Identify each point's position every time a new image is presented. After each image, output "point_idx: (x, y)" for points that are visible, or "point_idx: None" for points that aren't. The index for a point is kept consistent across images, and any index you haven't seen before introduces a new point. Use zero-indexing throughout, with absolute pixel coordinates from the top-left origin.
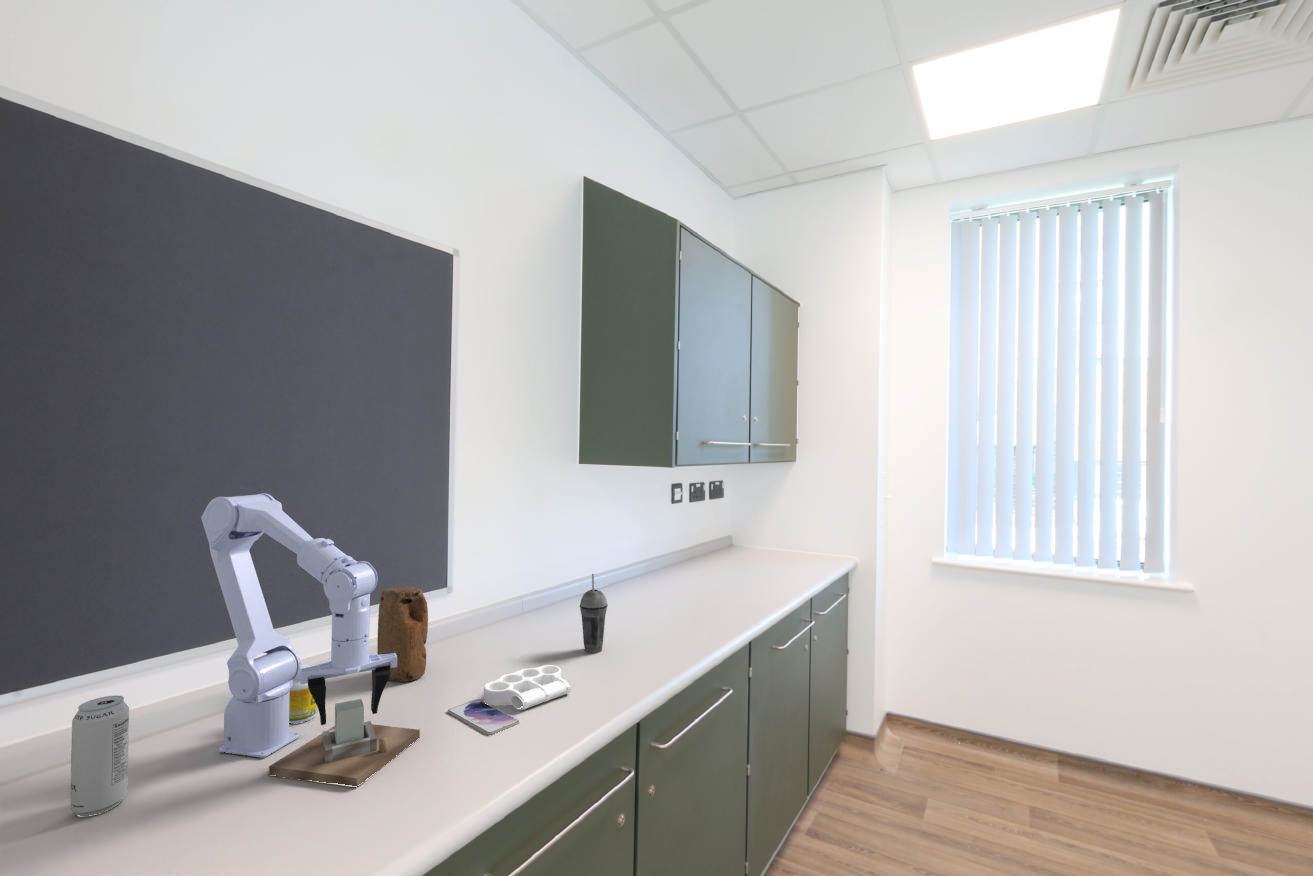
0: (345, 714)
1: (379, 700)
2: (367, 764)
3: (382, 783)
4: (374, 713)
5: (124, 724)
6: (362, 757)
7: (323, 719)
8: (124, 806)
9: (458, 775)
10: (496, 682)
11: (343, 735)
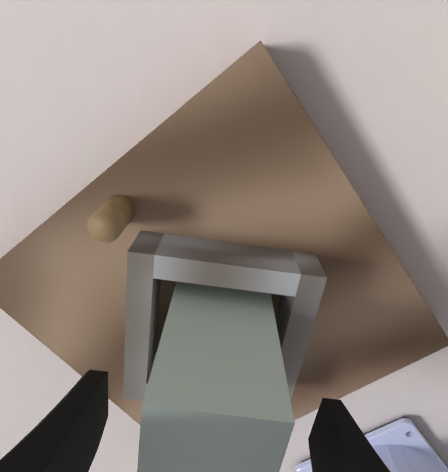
0: (247, 398)
1: (41, 421)
2: (194, 137)
3: (165, 12)
4: (99, 372)
5: None
6: (197, 208)
7: (345, 420)
8: None
9: None
10: None
11: (250, 322)
